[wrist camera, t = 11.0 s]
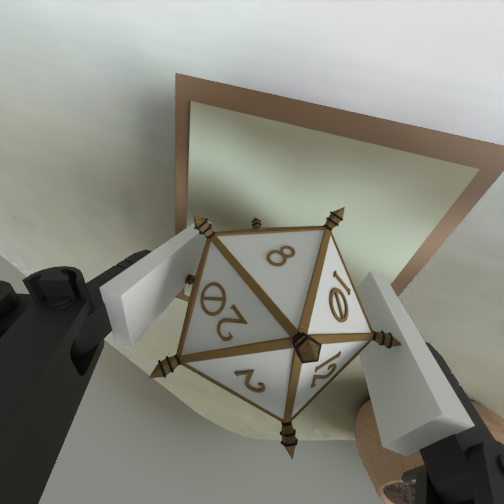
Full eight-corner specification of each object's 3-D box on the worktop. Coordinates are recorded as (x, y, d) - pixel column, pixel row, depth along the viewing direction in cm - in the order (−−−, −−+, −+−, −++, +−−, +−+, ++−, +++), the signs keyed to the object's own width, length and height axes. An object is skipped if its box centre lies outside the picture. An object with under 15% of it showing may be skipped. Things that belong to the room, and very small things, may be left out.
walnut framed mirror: (215, 95, 14) (173, 71, 10) (447, 148, 12) (525, 149, 8) (200, 268, 22) (174, 298, 18) (338, 314, 21) (346, 360, 16)
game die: (261, 242, 16) (124, 294, 10) (332, 147, 9) (48, 155, 4) (329, 344, 13) (194, 481, 8) (494, 317, 7) (351, 1069, 1)
